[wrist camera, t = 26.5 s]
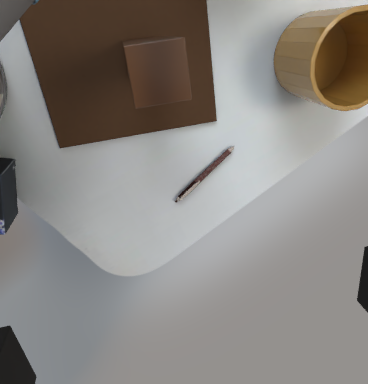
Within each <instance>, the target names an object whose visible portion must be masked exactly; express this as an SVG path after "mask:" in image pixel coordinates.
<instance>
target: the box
mask: <svg viewBox="0 0 368 384" xmlns="http://www.w3.org/2000/svg"><path fill="white" fill-rule="evenodd" d="M15 166H16V165H15V159H7V158H0V234H3V235H4V234H5V233H6V232H7V230H8V229H9V227H10V225H11V224H12V222H13V220H14V219H15V217H16V215H17V214H18V208H17V193H16V177H15Z"/></svg>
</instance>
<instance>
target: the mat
mask: <svg viewBox="0 0 368 384" xmlns="http://www.w3.org/2000/svg"><path fill="white" fill-rule="evenodd" d="M20 21H21V25H22V28H23V31H24V34H25V37H26V41H27V44H28V47H29V50H30V53H31V57H32V60H33V63H34V66H35V69H36V73H37V76H38V79H39V82H40V85H41V89H42V92H43V95H44V98H45V101H46V104H47V108H48V111H49V114H50V117H51V120H52V124H53V127H54V130H55V133H56V136H57V140H58V143H59V146H60V148H64V147H70V146H76V145H82V144H87V143H93V142H99V141H104V140H110V139H116V138H122V137H127V136H133V135H139V134H145V133H150V132H156V131H162V130H167V129H173V128H179V127H185V126H190V125H196V124H202V123H208V122H213V121H217V120H216V108H215V96H214V84H213V73H212V61H211V49H210V38H209V26H208V14H207V3H206V0H39V1H38V2H37V3H36V4H34V5H33V4H31V6H30V7H29V8H28V9H27V10H26V12H25V13H24V14H23V15H22V16H21V18H20ZM152 36H173V37H185V43H186V52H187V61H188V69H189V78H190V87H191V95H192V99H191V100H185V101H179V102H173V103H167V104H161V105H155V106H149V107H143V108H137V109H136V108H135V104H134V99H133V94H132V89H131V83H130V78H129V73H128V68H127V63H126V58H125V53H124V47H123V41H125V40H132V39H139V38H146V37H152Z"/></svg>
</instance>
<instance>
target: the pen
mask: <svg viewBox="0 0 368 384" xmlns="http://www.w3.org/2000/svg"><path fill="white" fill-rule="evenodd" d="M233 149H234V148H233V147H231V148H229V149H227V150H226V151H225V152H224V153H223V154H222V155H221V156H220V157H219V158H218V159H217V160H216V161H214V162H213V163H212V164H211V165H210V166H209V167H208V168H207V169H206V170H205V171H204V172H203V173H202V174H200V175H199V176H198V177H197V178H196V179H195V180H194V181H193V182H192V183H191V184H190V185H189V186H188V187H187V188H186V189H185V190H184V191H183V192H182V193H181V194H180V195H179V196H178V197H177V199H176V201H175V202H178V201H180V200H182V199H183V198H184V197H185V196H187V195H188V194H189V193H190V192H191V191H192V190H193V189H194V188H195V187H196V186H197V185H198V184H199V183H200V182H201V181H202V180H203V179H204V178H205V177H206V176H207V175H208V174H209V173H210V172H211V171H212V170H214V169H215V168H216V167H217V166H218V165H219V164H220V163H221V162H222V161H223V160H224V159H225V158H226V157H227V156H228V155H229V154H230V153H231V152H232V150H233Z"/></svg>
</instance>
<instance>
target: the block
mask: <svg viewBox="0 0 368 384" xmlns="http://www.w3.org/2000/svg"><path fill="white" fill-rule="evenodd" d="M123 47H124V53H125V58H126V63H127V68H128V73H129V78H130V83H131V89H132V94H133V99H134V104H135V108H136V109H137V108H143V107H149V106H155V105H161V104H167V103H173V102H179V101H185V100H191V99H192V95H191V87H190V78H189V69H188V61H187V52H186V43H185V37H173V36H152V37H146V38H139V39H132V40H125V41H123Z"/></svg>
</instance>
